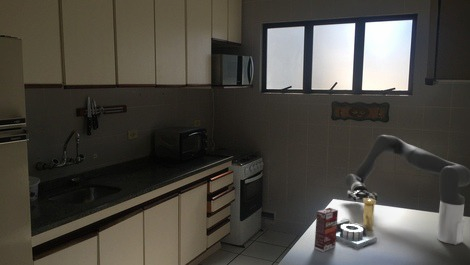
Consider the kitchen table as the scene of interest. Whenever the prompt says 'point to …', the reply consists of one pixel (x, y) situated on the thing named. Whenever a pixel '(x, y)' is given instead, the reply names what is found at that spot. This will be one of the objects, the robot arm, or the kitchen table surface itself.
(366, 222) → the bushing
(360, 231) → the jig
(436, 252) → the kitchen table surface
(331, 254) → the kitchen table surface
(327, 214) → the supplement box
